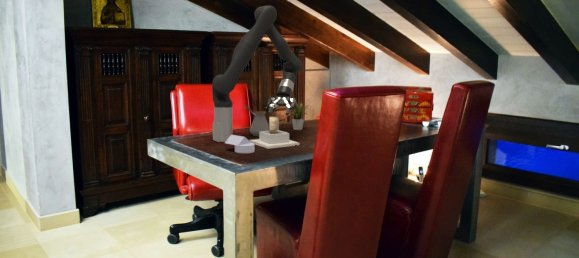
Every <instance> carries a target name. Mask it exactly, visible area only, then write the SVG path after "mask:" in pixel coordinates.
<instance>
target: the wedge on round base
mask: <svg viewBox="0 0 579 258" xmlns="http://www.w3.org/2000/svg"><path fill="white" fill-rule="evenodd" d="M249 140H250V139H248V138H247V137H245V136H242V135H235V134H233V135H231V136H230V137H229V138H228V139H227V141H226V142H224V144H226V145H233V146H234V152H235V153H237V154H251V153H252V154H253V153H254V152H255V145H256V144H254V143H251V142H250V141H249Z"/></svg>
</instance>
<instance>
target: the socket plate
mask: <svg viewBox="0 0 579 258" xmlns="http://www.w3.org/2000/svg"><path fill="white" fill-rule="evenodd" d="M248 140H249V141H250V142H251V143H254V144H255V145H256V146H259V147H262V148H265V149H268V150H269V149H277V148H284V147H286V148H287V147H294V146H295V145H297V146H300V142H298V141H294V140H291V139H290V133H289V132H287V131H283V130H279V134H270V131H262V132H259V136H258V138H256V139H255V138H254V139H248Z"/></svg>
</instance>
